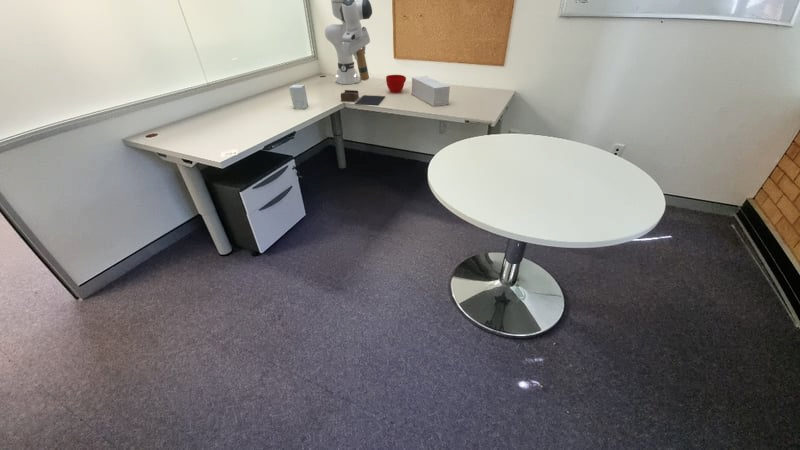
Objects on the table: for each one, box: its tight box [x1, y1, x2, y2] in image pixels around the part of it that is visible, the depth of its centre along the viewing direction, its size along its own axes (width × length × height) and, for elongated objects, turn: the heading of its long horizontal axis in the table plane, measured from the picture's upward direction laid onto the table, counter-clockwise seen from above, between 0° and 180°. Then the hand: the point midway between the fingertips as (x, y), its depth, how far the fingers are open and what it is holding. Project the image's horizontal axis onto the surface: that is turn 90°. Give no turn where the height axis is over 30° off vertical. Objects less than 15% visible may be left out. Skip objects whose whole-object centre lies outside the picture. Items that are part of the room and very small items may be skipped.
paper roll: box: [356, 48, 370, 82], centre depth 205 cm, size 17×6×6 cm
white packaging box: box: [289, 84, 309, 110], centre depth 200 cm, size 7×7×13 cm
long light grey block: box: [411, 75, 451, 107], centre depth 214 cm, size 32×11×11 cm, turn 23°
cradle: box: [340, 89, 360, 103], centre depth 216 cm, size 10×9×5 cm
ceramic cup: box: [385, 74, 407, 94], centre depth 231 cm, size 13×17×10 cm
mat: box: [354, 95, 386, 106], centre depth 215 cm, size 20×15×1 cm
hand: (360, 56), depth 201 cm, fingers closed on paper roll, 5 cm apart
